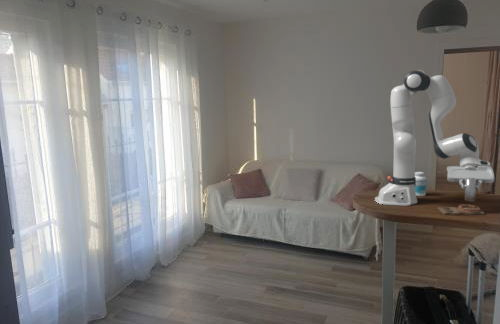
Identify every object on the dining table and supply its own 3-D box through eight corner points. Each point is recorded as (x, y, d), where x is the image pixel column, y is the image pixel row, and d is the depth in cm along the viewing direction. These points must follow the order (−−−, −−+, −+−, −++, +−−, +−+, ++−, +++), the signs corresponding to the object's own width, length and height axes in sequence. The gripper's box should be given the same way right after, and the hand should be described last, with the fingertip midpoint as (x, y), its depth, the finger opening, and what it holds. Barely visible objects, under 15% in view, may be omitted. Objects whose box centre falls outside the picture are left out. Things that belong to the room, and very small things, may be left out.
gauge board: (444, 214, 180) (444, 209, 179) (437, 208, 190) (437, 204, 189) (484, 214, 177) (484, 209, 176) (475, 208, 187) (475, 204, 186)
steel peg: (466, 201, 180) (467, 179, 178) (463, 199, 184) (463, 177, 182) (476, 201, 179) (477, 179, 177) (472, 198, 183) (473, 177, 182)
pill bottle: (414, 192, 223) (414, 170, 221) (427, 194, 218) (427, 172, 216) (410, 195, 217) (410, 173, 215) (423, 197, 213) (424, 174, 211)
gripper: (446, 161, 190) (446, 184, 183) (494, 162, 180) (495, 186, 173) (446, 168, 194) (446, 190, 187) (492, 169, 185) (494, 193, 178)
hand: (470, 188), depth 180 cm, fingers closed on steel peg, 4 cm apart
